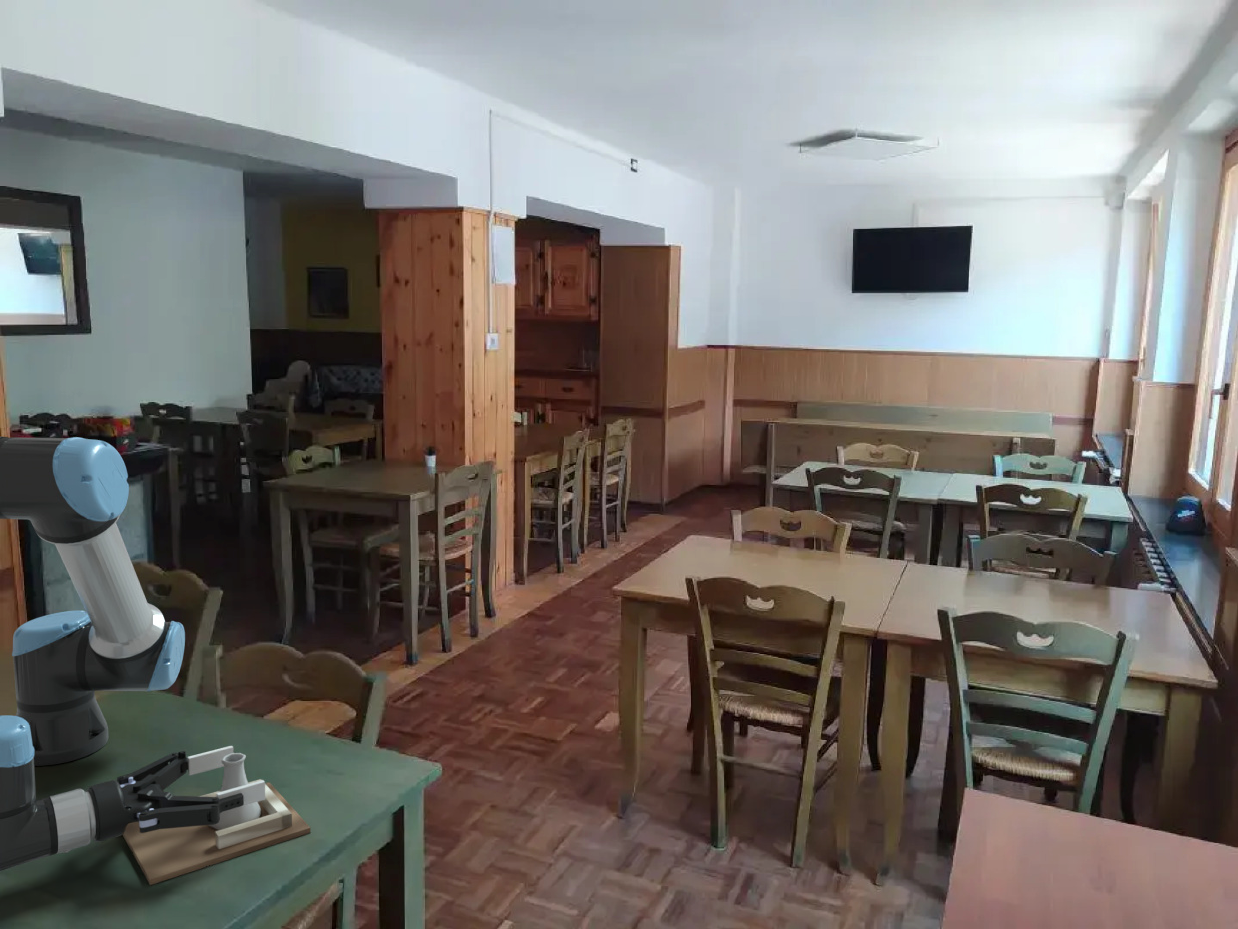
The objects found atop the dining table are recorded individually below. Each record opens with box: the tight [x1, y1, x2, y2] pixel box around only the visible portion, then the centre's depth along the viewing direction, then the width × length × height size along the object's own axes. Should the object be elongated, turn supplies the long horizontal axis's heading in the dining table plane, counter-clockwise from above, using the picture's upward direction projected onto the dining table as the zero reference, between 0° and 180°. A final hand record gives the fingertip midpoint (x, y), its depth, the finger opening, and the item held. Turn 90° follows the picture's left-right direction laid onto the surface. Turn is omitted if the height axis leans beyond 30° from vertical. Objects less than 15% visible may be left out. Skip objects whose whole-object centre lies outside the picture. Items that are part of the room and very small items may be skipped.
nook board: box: [121, 778, 311, 886], centre depth 140 cm, size 17×22×3 cm
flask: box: [209, 752, 262, 830], centre depth 141 cm, size 7×7×10 cm
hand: (248, 771), depth 142 cm, fingers open, 13 cm apart
